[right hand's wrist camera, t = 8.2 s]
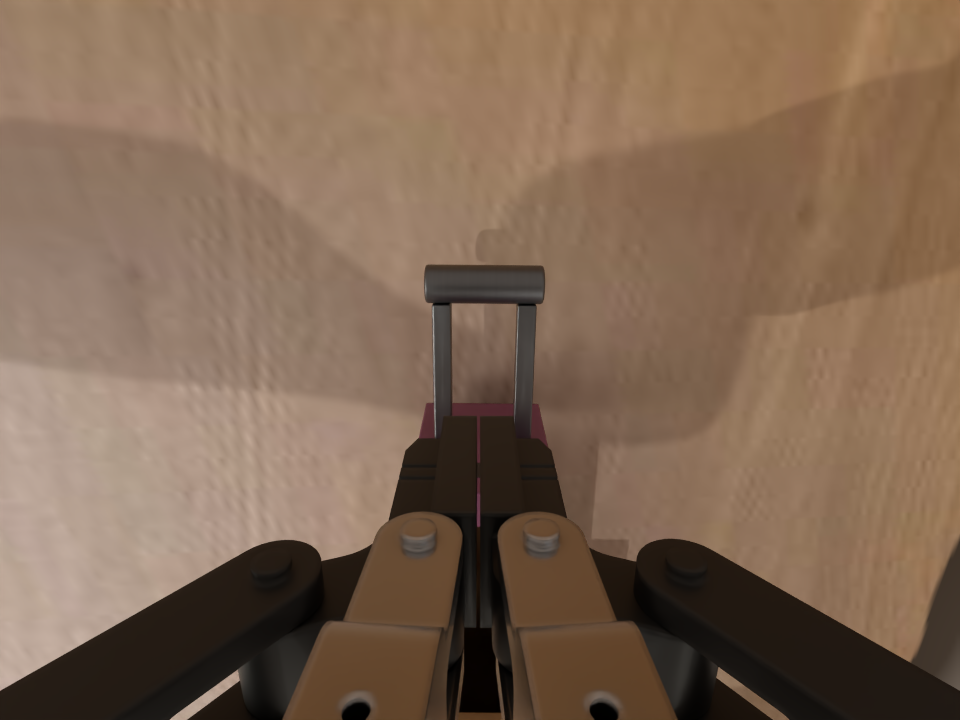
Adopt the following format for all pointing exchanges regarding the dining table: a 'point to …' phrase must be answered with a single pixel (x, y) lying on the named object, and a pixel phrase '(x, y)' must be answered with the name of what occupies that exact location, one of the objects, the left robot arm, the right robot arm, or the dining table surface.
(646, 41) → the dining table surface
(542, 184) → the dining table surface
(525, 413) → the drawer
